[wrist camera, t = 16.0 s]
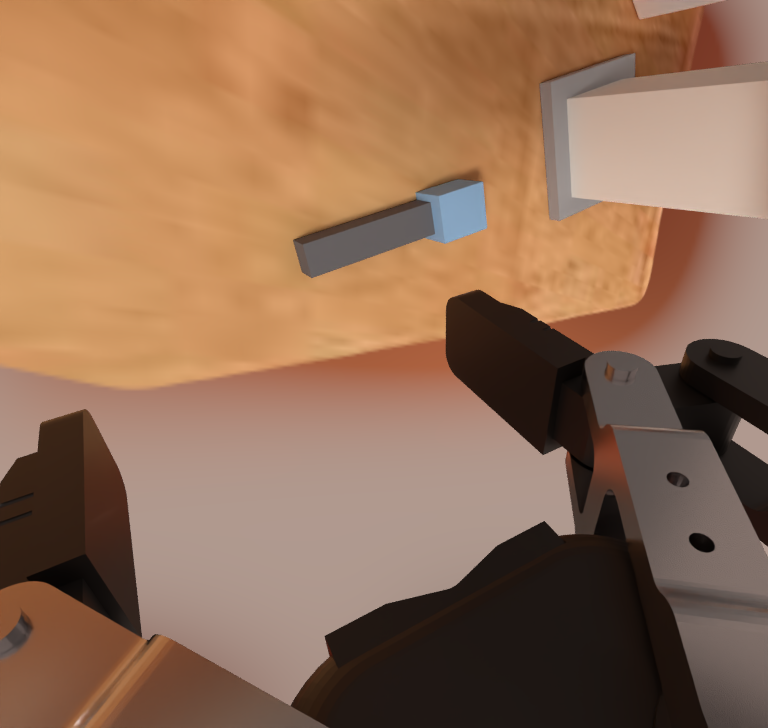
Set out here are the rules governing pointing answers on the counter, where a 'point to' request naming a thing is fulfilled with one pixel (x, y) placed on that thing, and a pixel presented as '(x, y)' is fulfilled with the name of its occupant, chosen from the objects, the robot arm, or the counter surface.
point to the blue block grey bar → (397, 227)
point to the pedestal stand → (657, 139)
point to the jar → (666, 6)
